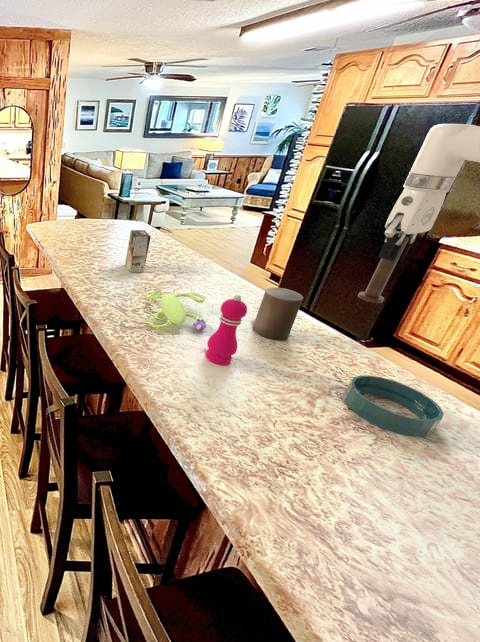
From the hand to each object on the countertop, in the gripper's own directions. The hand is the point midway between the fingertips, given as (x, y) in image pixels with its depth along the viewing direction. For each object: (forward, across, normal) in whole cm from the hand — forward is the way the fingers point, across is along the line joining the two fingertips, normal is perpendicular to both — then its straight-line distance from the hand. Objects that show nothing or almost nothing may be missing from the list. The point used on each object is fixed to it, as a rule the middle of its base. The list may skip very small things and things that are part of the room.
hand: (390, 257), depth 96 cm
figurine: (+31, -26, +36) cm, 55 cm away
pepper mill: (+31, -34, +11) cm, 47 cm away
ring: (+31, -16, -19) cm, 39 cm away
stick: (+12, 0, 0) cm, 12 cm away
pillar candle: (+31, -6, +17) cm, 36 cm away
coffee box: (+31, -12, +76) cm, 83 cm away
